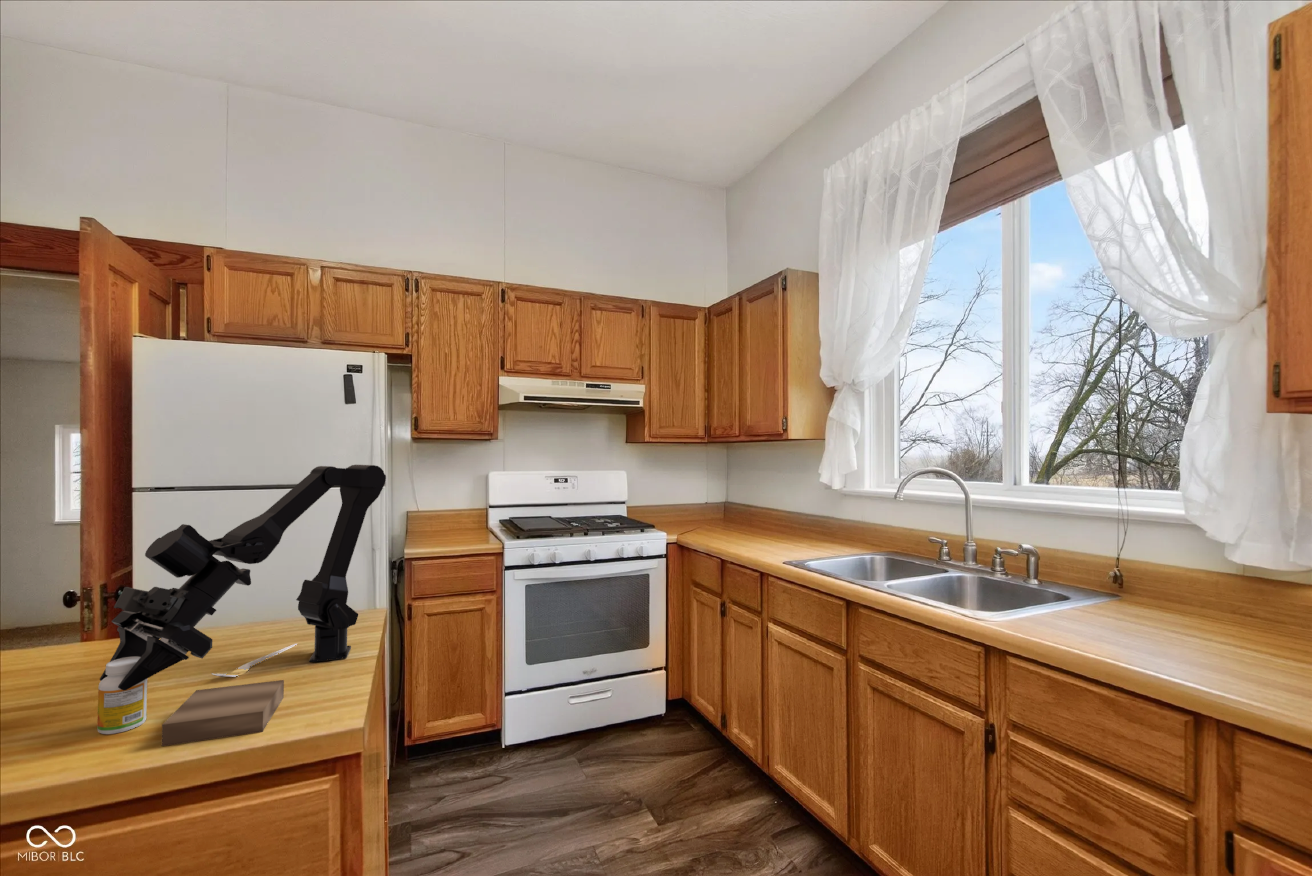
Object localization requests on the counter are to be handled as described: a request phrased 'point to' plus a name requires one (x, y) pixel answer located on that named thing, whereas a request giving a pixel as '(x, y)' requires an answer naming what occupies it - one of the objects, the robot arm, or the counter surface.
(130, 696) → the supplement bottle
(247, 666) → the fork
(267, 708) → the walnut base
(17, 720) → the counter surface
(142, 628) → the robot arm
